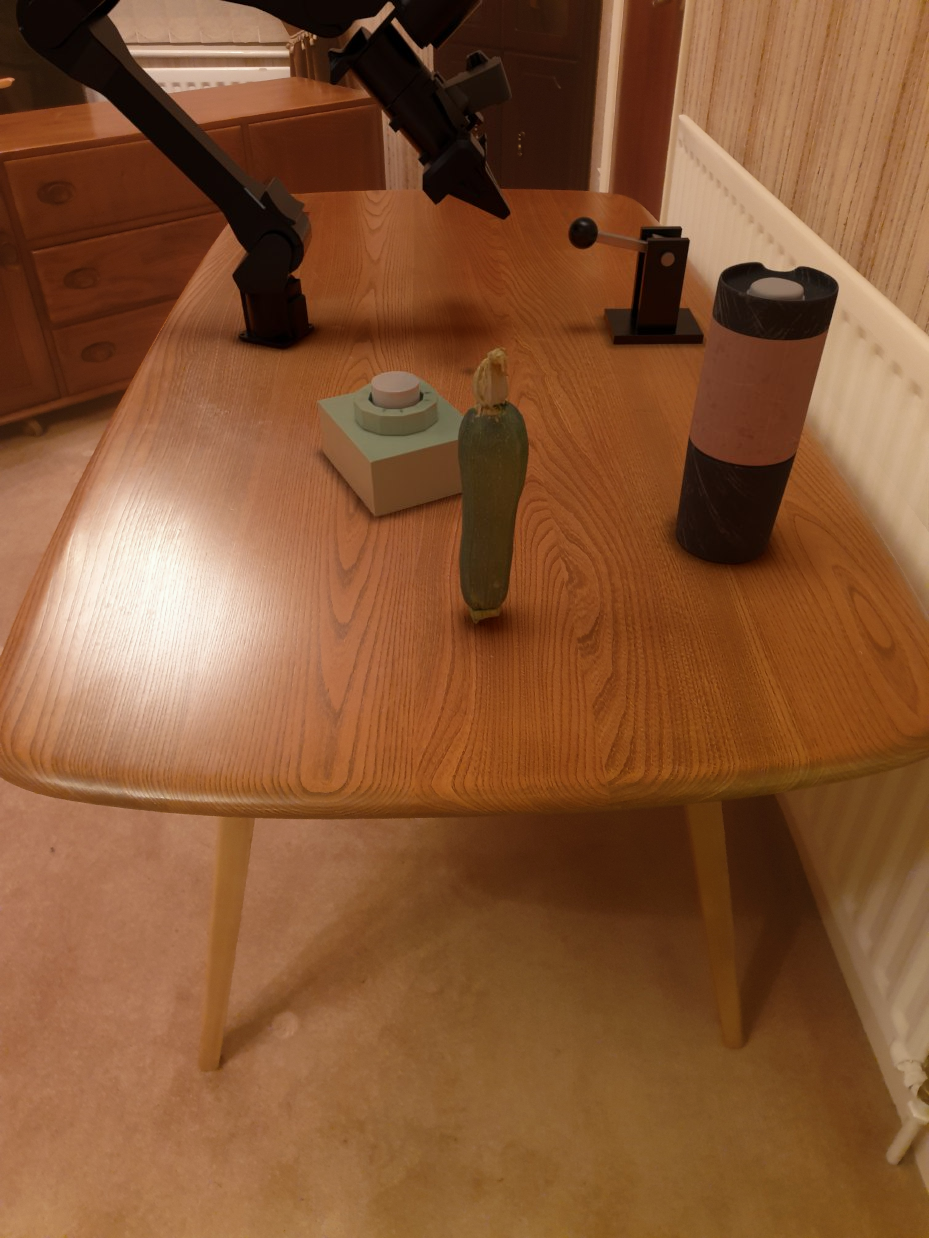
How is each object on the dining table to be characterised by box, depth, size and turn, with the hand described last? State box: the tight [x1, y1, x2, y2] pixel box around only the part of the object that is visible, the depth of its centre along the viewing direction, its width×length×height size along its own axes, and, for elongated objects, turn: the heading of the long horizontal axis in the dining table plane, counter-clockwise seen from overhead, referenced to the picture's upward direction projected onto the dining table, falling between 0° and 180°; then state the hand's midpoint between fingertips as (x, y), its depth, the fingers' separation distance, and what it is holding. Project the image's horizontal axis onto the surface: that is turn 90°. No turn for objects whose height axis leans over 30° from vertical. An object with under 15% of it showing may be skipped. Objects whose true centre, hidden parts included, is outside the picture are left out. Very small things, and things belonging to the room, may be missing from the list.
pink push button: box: [370, 370, 420, 409], centre depth 72 cm, size 4×4×2 cm
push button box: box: [316, 377, 465, 518], centre depth 74 cm, size 12×10×7 cm
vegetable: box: [458, 347, 530, 624], centre depth 55 cm, size 4×4×20 cm
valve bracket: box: [603, 225, 705, 346], centre depth 96 cm, size 10×8×11 cm
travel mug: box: [675, 261, 840, 564], centre depth 62 cm, size 8×8×20 cm
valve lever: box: [567, 216, 670, 253], centre depth 93 cm, size 12×3×3 cm, turn 91°
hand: (507, 216), depth 91 cm, fingers closed
